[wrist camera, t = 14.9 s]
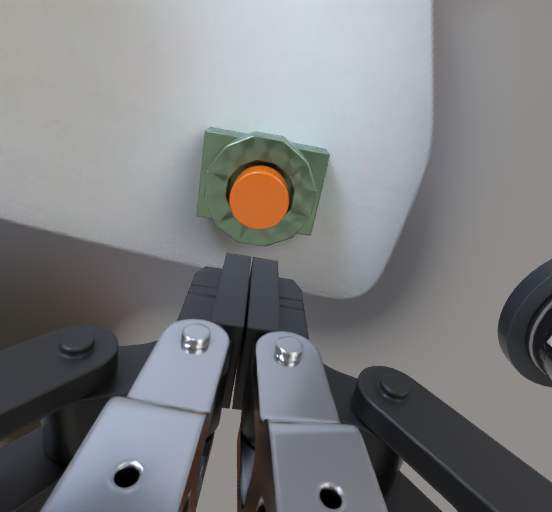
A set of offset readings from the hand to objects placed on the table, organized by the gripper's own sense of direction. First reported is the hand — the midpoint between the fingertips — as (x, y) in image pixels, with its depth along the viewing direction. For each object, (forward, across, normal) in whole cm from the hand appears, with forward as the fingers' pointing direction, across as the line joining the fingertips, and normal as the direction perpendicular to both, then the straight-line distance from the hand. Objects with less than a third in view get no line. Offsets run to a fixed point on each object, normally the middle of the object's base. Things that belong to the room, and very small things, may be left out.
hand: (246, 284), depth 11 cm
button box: (+14, 0, 0) cm, 14 cm away
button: (+10, 0, 0) cm, 10 cm away
